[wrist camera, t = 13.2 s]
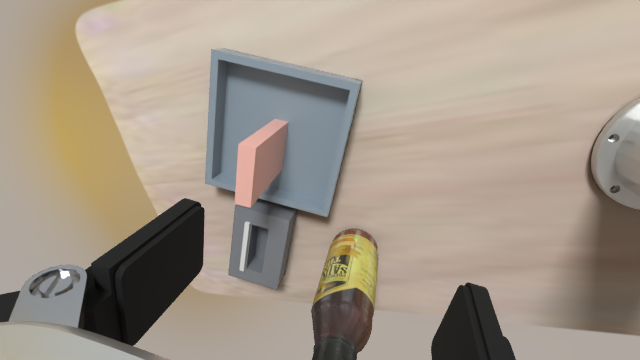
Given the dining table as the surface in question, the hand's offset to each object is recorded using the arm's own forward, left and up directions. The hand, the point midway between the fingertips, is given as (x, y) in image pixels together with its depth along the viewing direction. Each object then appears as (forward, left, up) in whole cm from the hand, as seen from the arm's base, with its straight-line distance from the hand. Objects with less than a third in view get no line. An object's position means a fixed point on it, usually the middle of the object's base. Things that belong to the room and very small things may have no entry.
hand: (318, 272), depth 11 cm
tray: (+9, +4, -27) cm, 28 cm away
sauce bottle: (-3, +17, -27) cm, 32 cm away
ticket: (+9, +6, -26) cm, 28 cm away
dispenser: (+9, +19, -27) cm, 34 cm away
